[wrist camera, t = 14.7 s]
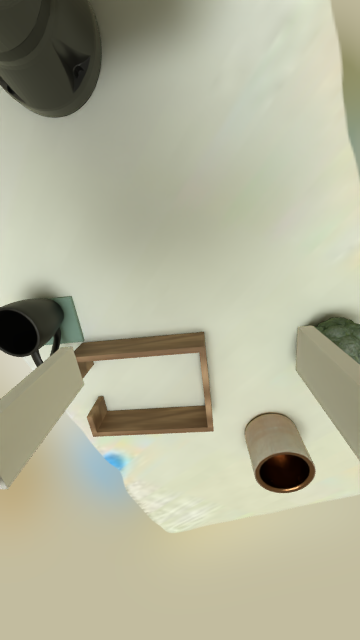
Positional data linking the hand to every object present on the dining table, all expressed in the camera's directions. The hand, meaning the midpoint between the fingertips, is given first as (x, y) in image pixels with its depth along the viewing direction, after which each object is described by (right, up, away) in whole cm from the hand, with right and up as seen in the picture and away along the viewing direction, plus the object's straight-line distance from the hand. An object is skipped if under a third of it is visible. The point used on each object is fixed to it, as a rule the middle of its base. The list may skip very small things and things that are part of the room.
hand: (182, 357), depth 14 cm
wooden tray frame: (-6, -10, +35) cm, 37 cm away
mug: (-24, +2, +31) cm, 39 cm away
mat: (-24, +2, +32) cm, 40 cm away
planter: (+19, -22, +38) cm, 48 cm away
